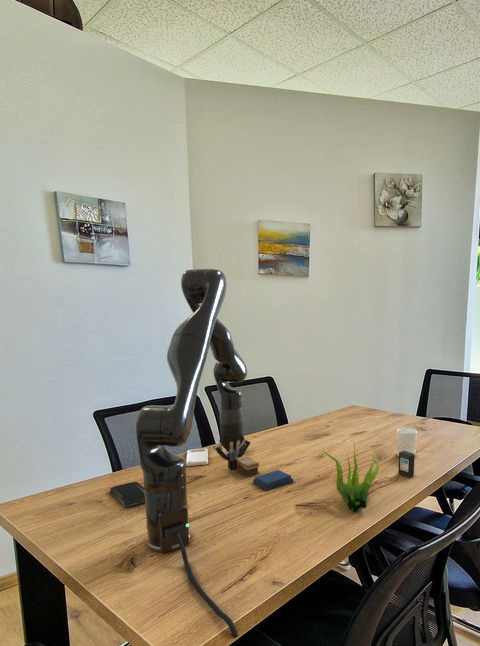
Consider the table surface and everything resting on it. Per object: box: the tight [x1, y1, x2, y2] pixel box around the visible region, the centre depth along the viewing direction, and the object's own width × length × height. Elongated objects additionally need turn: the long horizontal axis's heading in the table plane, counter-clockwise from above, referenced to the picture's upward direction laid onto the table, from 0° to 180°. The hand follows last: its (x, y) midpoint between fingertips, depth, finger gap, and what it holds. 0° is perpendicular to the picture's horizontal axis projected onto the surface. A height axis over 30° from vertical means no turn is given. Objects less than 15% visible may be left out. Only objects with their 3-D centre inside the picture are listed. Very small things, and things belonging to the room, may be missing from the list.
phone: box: [109, 481, 145, 508], centre depth 128 cm, size 8×1×15 cm
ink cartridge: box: [397, 451, 416, 478], centre depth 145 cm, size 5×2×8 cm, turn 44°
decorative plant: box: [321, 436, 380, 513], centre depth 132 cm, size 18×30×15 cm, turn 163°
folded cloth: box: [252, 469, 294, 491], centre depth 139 cm, size 8×10×2 cm
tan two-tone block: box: [235, 454, 260, 478], centre depth 148 cm, size 12×4×4 cm, turn 41°
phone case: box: [185, 447, 209, 467], centre depth 160 cm, size 7×1×15 cm
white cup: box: [396, 427, 419, 457], centre depth 164 cm, size 8×8×10 cm
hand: (232, 470), depth 146 cm, fingers closed
